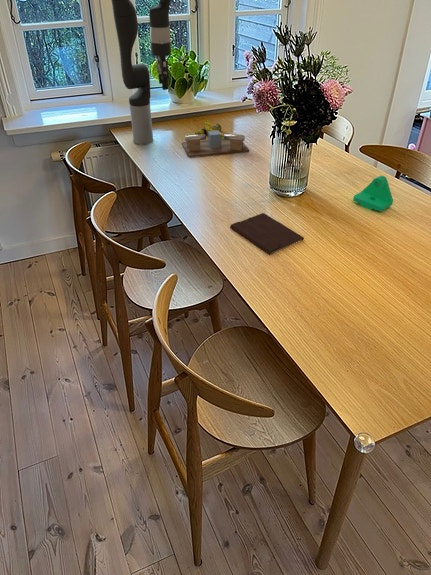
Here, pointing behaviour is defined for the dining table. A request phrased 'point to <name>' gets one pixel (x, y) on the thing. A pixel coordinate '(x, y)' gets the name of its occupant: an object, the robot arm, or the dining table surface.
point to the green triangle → (375, 195)
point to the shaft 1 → (202, 137)
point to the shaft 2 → (228, 136)
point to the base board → (203, 149)
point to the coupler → (214, 139)
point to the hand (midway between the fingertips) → (163, 86)
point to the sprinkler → (210, 129)
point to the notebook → (266, 233)
